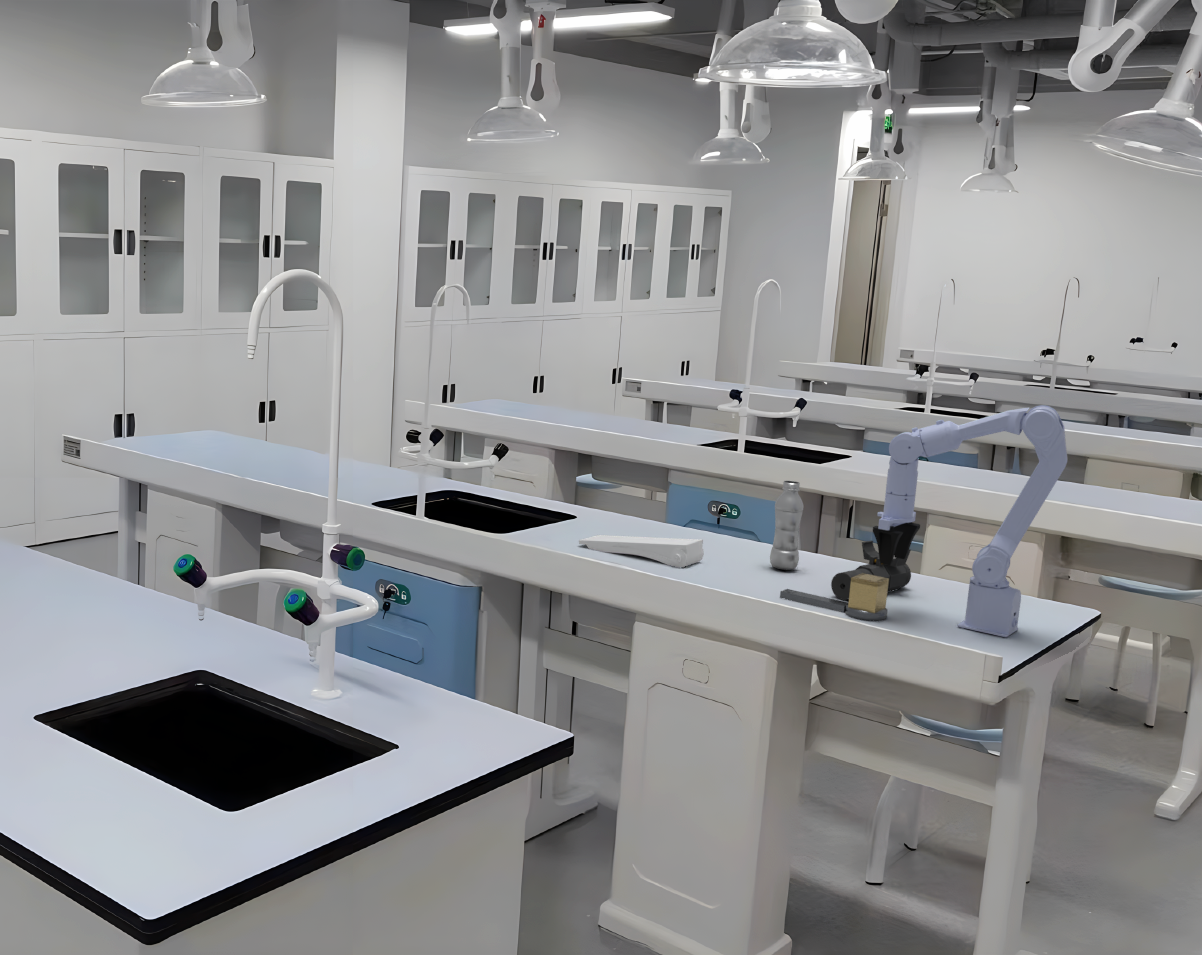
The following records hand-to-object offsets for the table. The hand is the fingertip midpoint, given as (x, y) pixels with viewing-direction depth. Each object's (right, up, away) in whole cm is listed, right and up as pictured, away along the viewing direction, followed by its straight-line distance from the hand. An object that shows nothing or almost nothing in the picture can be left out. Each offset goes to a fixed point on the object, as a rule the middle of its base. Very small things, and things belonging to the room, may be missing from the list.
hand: (892, 561), depth 231 cm
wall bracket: (-49, -2, +37) cm, 61 cm away
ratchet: (-11, -9, +2) cm, 15 cm away
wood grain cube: (-6, -9, -2) cm, 11 cm away
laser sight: (0, -8, +17) cm, 19 cm away
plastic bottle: (-17, -4, +32) cm, 36 cm away
